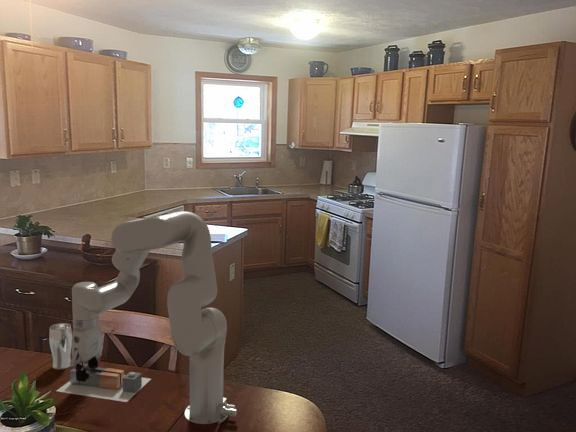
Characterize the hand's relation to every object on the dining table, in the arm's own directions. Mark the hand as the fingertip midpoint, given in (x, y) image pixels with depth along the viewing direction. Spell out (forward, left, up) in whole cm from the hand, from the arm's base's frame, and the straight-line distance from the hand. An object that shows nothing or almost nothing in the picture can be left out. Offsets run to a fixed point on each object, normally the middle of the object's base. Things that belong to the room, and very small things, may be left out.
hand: (87, 375), depth 156 cm
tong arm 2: (-4, -2, -2) cm, 4 cm away
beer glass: (+15, -8, -4) cm, 18 cm away
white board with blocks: (-6, 0, -3) cm, 7 cm away
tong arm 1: (-4, +2, -2) cm, 4 cm away
